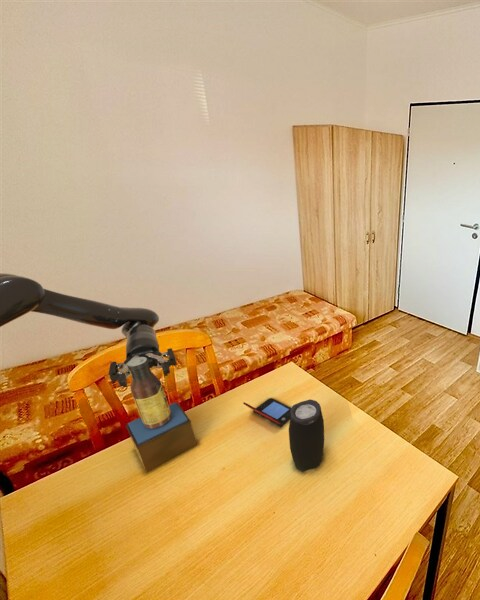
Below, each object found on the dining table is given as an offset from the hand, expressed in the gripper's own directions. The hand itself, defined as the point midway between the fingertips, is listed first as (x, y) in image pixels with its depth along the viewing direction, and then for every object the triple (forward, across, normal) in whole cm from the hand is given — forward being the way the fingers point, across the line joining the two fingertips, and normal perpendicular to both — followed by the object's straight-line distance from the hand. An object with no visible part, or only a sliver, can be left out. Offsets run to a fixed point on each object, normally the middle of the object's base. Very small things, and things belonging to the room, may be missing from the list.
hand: (145, 378), depth 82 cm
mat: (+2, 0, +14) cm, 14 cm away
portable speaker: (+28, +32, +24) cm, 48 cm away
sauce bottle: (+2, 0, +13) cm, 13 cm away
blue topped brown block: (+2, 0, +24) cm, 24 cm away
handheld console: (+6, +28, +24) cm, 37 cm away
